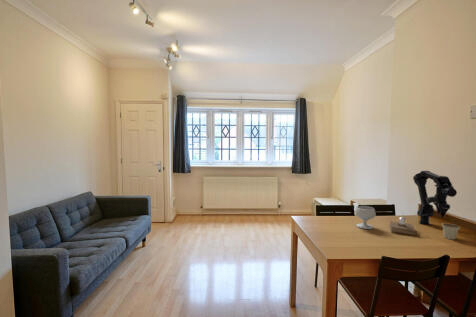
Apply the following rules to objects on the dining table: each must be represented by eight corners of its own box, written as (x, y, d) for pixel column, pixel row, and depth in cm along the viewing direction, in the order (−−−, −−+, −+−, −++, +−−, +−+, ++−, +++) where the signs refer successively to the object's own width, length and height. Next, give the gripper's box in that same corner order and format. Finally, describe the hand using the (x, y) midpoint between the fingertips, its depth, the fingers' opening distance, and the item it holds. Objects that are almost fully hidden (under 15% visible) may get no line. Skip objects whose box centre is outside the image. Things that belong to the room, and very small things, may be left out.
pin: (399, 228, 179) (399, 216, 178) (404, 229, 177) (404, 217, 177) (399, 229, 176) (400, 217, 175) (404, 230, 174) (405, 218, 174)
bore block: (389, 226, 186) (389, 221, 186) (411, 229, 180) (412, 224, 179) (391, 232, 174) (391, 227, 174) (415, 235, 167) (415, 230, 167)
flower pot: (454, 235, 167) (454, 223, 166) (462, 241, 157) (463, 228, 157) (438, 234, 169) (438, 222, 168) (445, 239, 160) (446, 227, 159)
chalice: (370, 223, 192) (370, 205, 191) (378, 230, 178) (379, 210, 177) (352, 223, 194) (352, 205, 193) (359, 229, 180) (359, 210, 179)
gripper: (424, 190, 185) (423, 210, 186) (430, 195, 169) (429, 217, 170) (443, 191, 180) (442, 212, 181) (450, 196, 164) (449, 219, 165)
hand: (440, 215), depth 174 cm, fingers open, 9 cm apart
